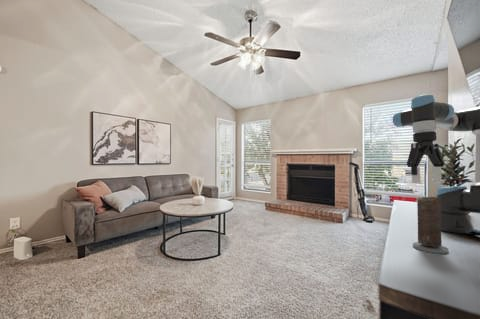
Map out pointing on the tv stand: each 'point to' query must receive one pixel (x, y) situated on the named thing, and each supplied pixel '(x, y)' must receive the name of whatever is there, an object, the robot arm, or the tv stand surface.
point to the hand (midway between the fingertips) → (427, 182)
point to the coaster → (431, 249)
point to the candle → (429, 221)
